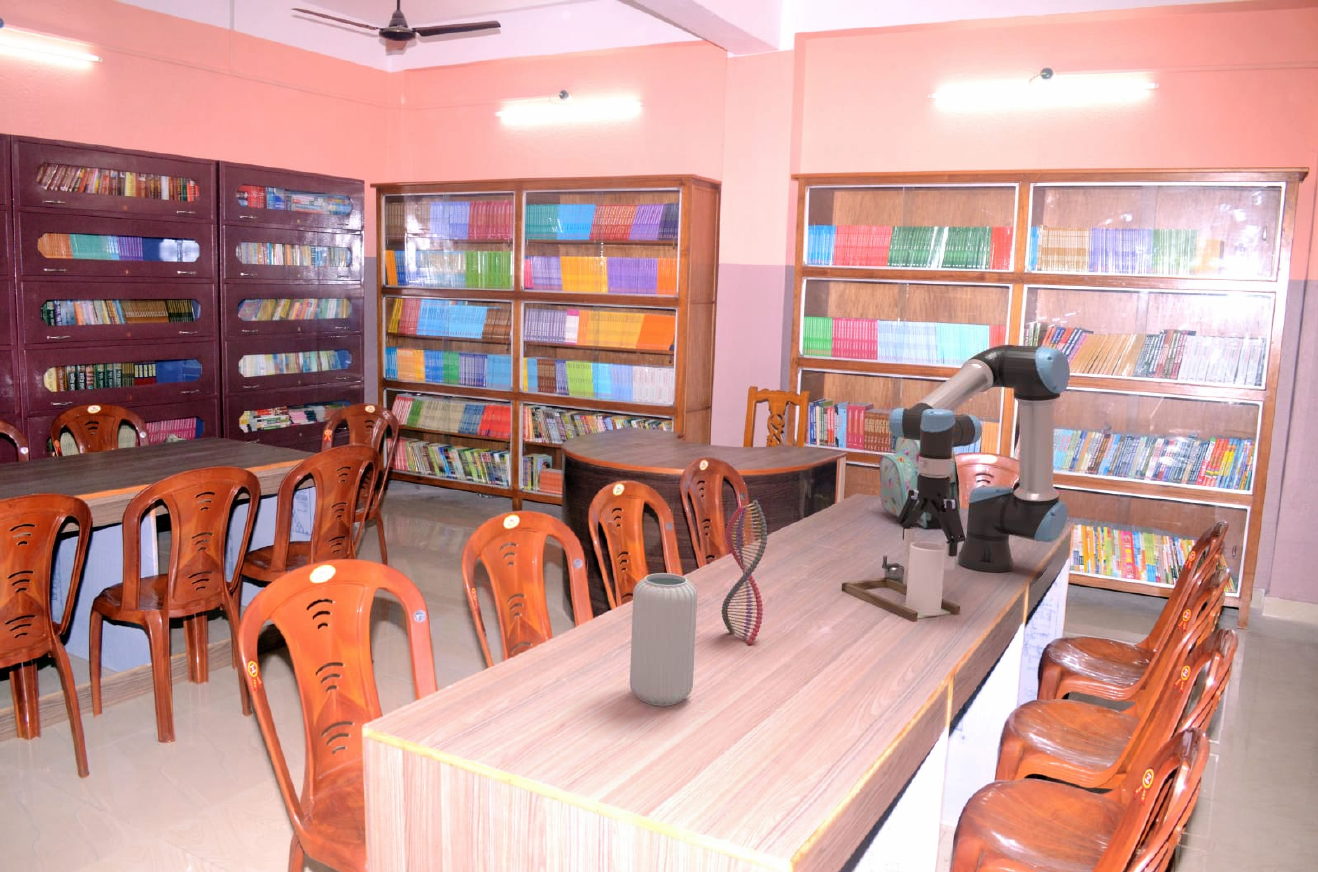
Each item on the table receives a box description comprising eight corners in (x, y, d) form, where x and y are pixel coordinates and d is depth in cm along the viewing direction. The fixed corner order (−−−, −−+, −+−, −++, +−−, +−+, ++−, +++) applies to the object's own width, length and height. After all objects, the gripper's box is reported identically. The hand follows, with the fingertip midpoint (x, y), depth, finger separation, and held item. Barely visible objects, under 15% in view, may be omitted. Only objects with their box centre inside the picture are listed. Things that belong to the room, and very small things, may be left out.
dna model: (734, 648, 203) (741, 508, 199) (712, 634, 211) (719, 499, 207) (769, 642, 207) (777, 505, 203) (747, 629, 215) (754, 497, 211)
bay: (886, 584, 255) (886, 577, 255) (959, 613, 233) (960, 605, 232) (841, 590, 248) (842, 582, 248) (912, 621, 226) (913, 613, 225)
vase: (700, 707, 172) (706, 586, 169) (638, 712, 169) (643, 589, 166) (681, 682, 183) (686, 569, 180) (622, 687, 180) (626, 571, 177)
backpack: (868, 512, 348) (874, 423, 343) (933, 513, 350) (941, 425, 346) (895, 530, 320) (902, 434, 315) (966, 531, 323) (974, 436, 318)
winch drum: (894, 581, 259) (896, 551, 257) (907, 586, 254) (909, 556, 253) (875, 583, 255) (877, 553, 254) (888, 589, 251) (890, 558, 250)
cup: (941, 617, 228) (947, 551, 226) (906, 613, 230) (911, 548, 228) (939, 606, 236) (944, 543, 234) (904, 603, 238) (909, 540, 236)
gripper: (886, 466, 238) (880, 550, 241) (961, 485, 216) (954, 577, 219) (909, 464, 241) (903, 547, 244) (985, 483, 219) (978, 573, 223)
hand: (927, 561), depth 232 cm, fingers open, 13 cm apart
